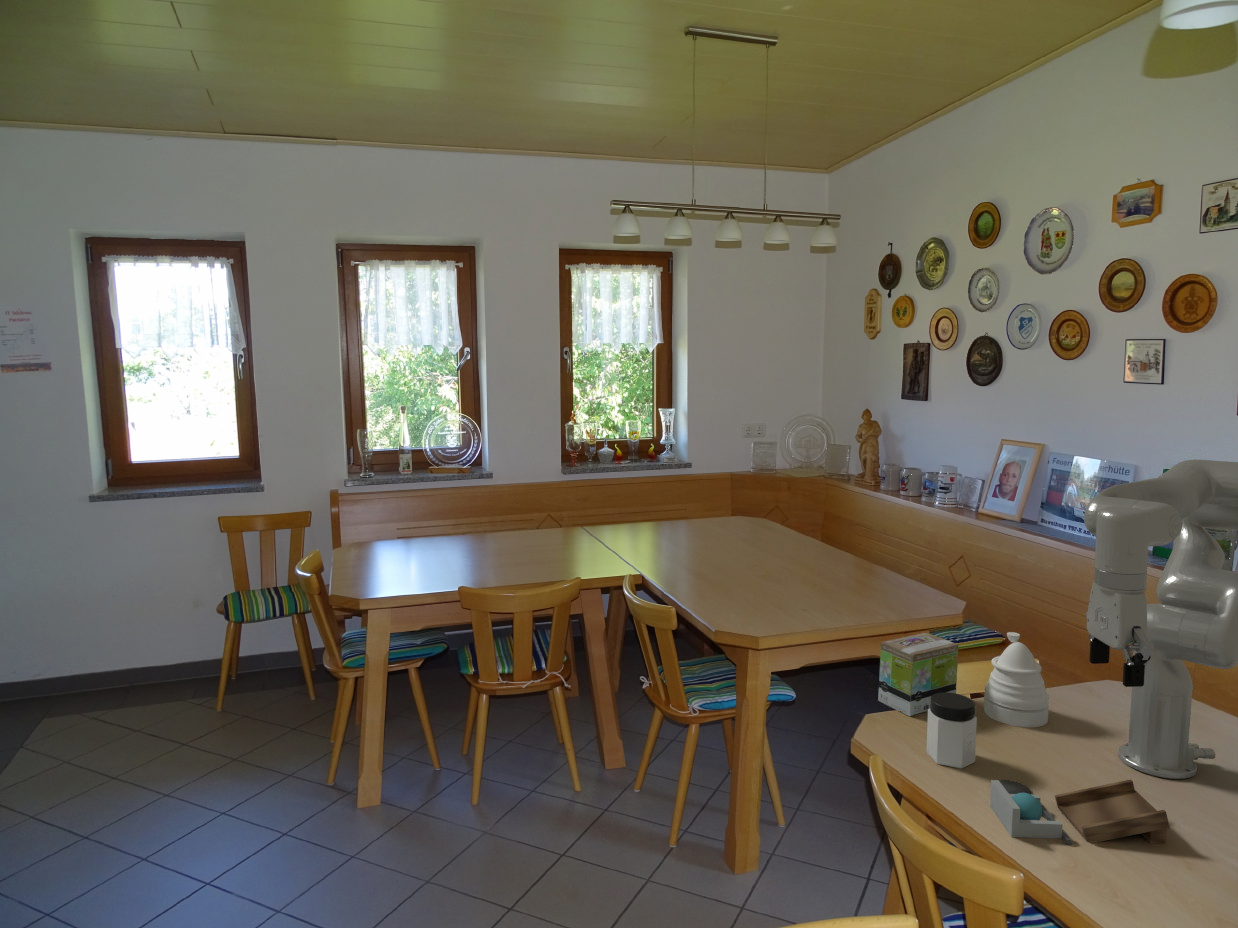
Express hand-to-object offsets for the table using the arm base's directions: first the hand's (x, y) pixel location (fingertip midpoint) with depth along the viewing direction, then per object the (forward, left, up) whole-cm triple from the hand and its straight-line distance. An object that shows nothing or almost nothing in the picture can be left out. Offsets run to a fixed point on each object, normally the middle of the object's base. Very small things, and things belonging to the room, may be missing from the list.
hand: (1115, 673), depth 134 cm
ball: (+17, +7, -22) cm, 28 cm away
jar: (+22, -15, -24) cm, 36 cm away
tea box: (+21, -41, -24) cm, 52 cm away
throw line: (+13, +7, -24) cm, 28 cm away
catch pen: (+17, +7, -24) cm, 30 cm away
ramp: (+3, +7, -24) cm, 25 cm away
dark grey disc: (+15, -3, -24) cm, 29 cm away
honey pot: (+1, -36, -24) cm, 44 cm away
